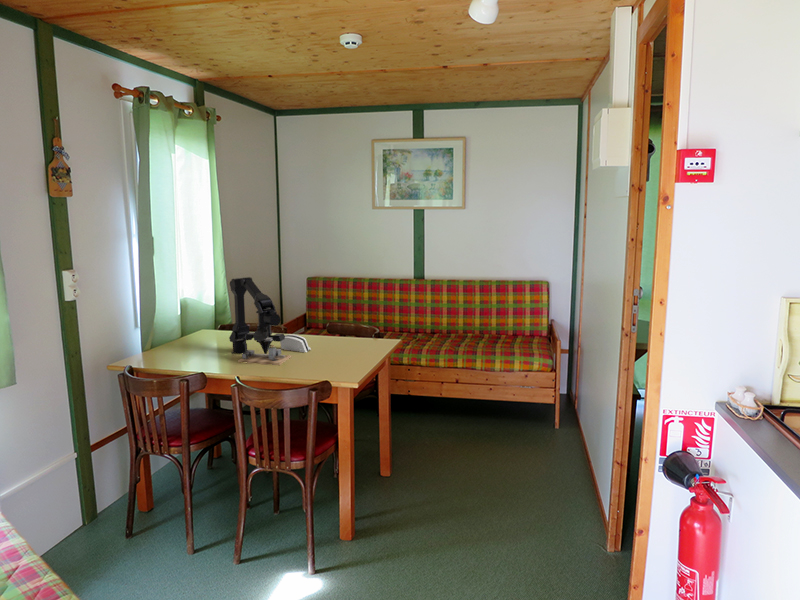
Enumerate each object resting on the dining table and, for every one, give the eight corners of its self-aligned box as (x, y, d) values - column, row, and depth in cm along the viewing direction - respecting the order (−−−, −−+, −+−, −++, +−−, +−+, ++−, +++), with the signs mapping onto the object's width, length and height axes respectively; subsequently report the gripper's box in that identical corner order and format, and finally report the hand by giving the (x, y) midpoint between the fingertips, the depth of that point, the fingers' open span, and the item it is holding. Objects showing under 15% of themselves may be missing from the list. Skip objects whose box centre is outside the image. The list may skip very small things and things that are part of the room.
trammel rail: (241, 358, 281) (241, 353, 280) (249, 354, 288) (248, 349, 288) (279, 361, 276) (279, 356, 276) (286, 356, 284) (286, 351, 284)
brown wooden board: (237, 362, 278) (237, 359, 278) (251, 355, 292) (251, 352, 291) (279, 365, 274) (279, 362, 273) (290, 357, 287) (290, 355, 287)
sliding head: (267, 359, 278) (267, 345, 276) (274, 355, 285) (274, 341, 284) (274, 360, 277) (274, 346, 276) (281, 356, 285) (280, 342, 284)
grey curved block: (311, 350, 302) (307, 334, 298) (306, 355, 298) (302, 339, 294) (286, 347, 310) (282, 331, 305) (281, 351, 306) (277, 336, 301)
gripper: (239, 325, 271) (240, 356, 273) (275, 327, 267) (276, 358, 269) (250, 321, 282) (251, 351, 284) (284, 322, 278) (285, 353, 280)
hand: (265, 353), depth 279 cm, fingers closed
